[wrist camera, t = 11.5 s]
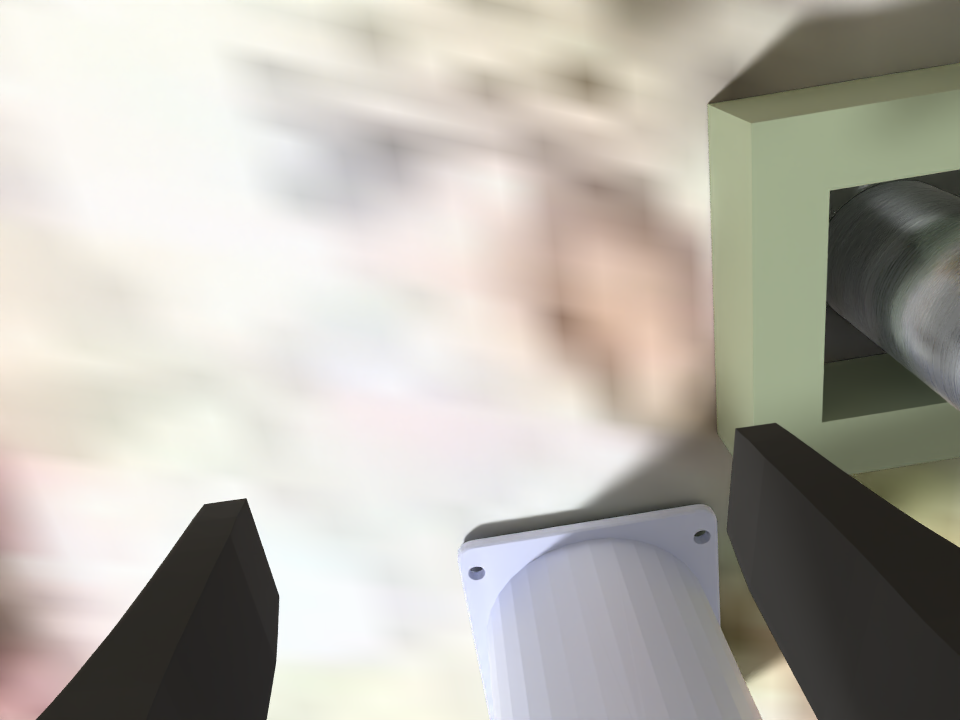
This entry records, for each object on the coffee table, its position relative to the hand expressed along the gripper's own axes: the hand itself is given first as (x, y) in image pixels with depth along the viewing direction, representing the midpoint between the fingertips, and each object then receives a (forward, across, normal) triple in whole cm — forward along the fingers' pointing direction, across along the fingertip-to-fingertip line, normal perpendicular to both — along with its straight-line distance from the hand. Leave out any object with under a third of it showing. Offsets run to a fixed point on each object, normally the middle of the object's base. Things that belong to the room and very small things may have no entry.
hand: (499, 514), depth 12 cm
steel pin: (+10, -12, +2) cm, 16 cm away
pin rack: (+10, -12, +2) cm, 16 cm away
